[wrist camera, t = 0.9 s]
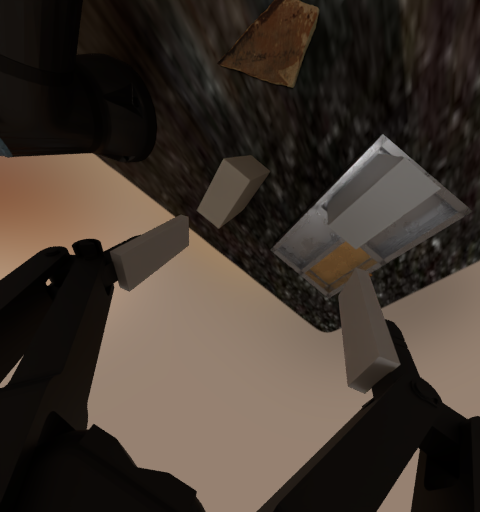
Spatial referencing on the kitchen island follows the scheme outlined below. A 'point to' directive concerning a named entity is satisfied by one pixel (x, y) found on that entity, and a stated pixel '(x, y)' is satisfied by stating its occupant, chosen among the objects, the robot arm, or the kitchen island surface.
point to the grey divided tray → (373, 251)
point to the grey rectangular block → (377, 198)
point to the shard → (275, 43)
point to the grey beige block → (232, 188)
